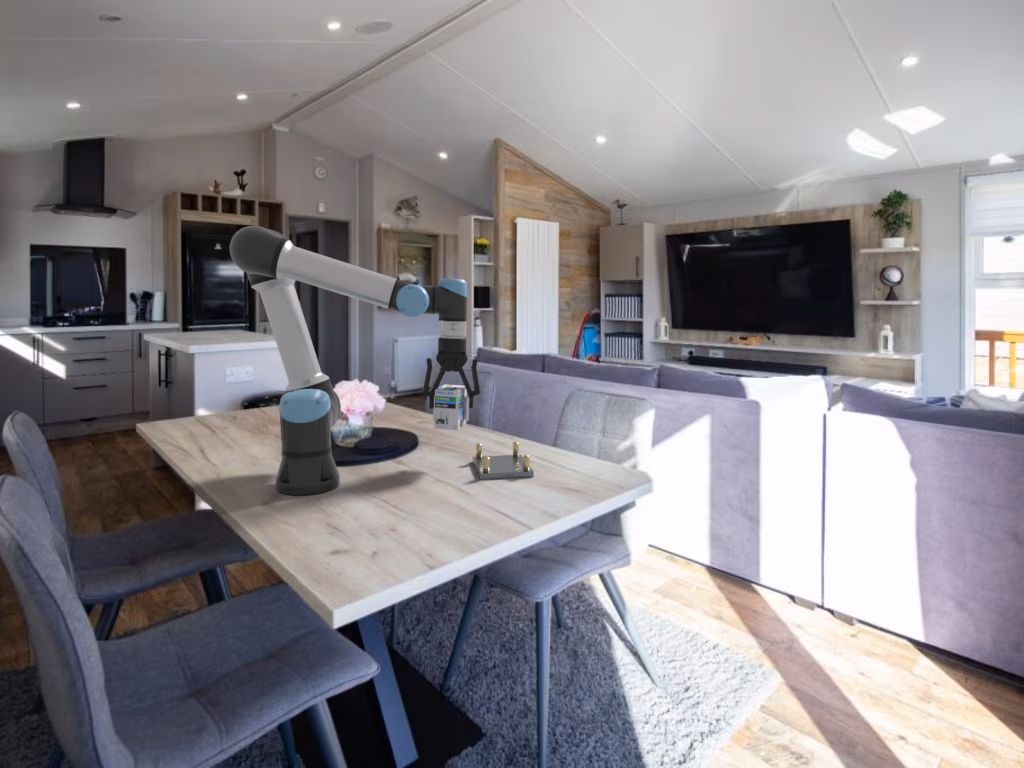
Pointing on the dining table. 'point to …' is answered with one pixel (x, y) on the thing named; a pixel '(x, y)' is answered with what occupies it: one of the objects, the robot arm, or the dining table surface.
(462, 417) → the light bulb box
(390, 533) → the dining table surface
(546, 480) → the dining table surface
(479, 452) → the chassis
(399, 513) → the dining table surface
